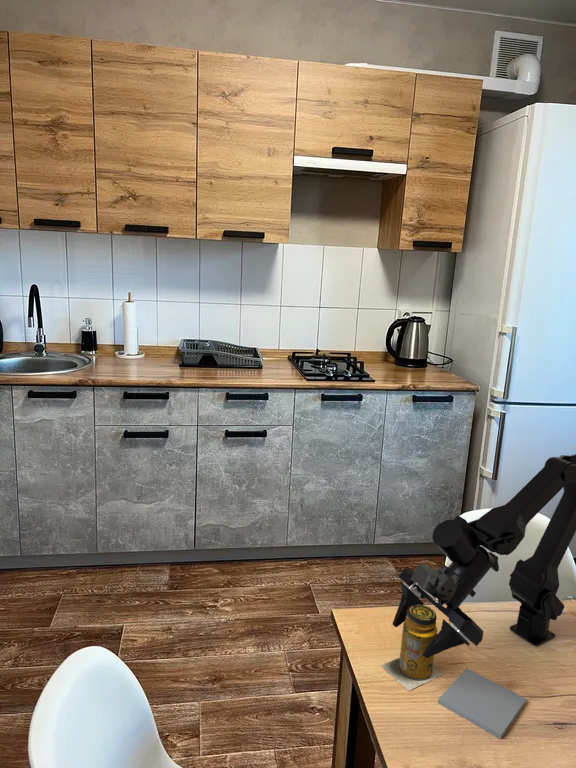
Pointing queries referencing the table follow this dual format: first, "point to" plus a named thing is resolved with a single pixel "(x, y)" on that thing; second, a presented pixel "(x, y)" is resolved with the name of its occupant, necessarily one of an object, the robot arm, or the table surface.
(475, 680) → the coaster board
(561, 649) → the table surface
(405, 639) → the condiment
